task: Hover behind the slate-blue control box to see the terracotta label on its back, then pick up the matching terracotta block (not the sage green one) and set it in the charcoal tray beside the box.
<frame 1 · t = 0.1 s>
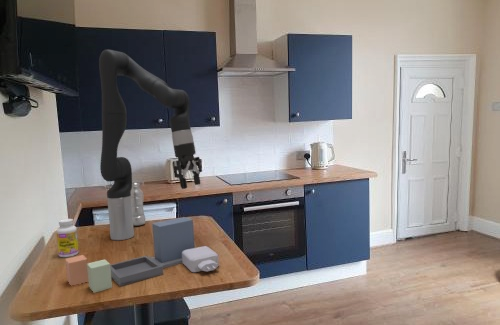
hand: (191, 186, 139), 22 cm above the table, tool pointing down, fingers open, 8 cm apart
tray: (134, 273, 116), on the table
charger: (203, 269, 118), on the table
terracotta block: (78, 281, 112), on the table
plastic bottle: (138, 225, 174), on the table
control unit: (175, 259, 127), on the table
sage block: (100, 287, 107), on the table
supplement bottle: (69, 255, 137), on the table
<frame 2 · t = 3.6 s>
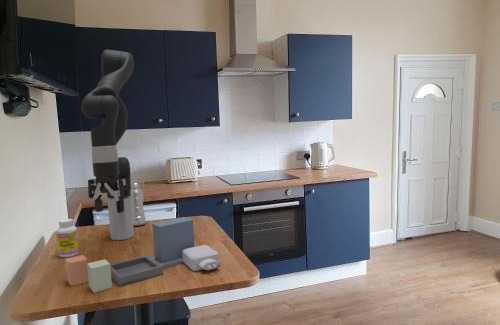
hand: (109, 211, 118), 19 cm above the table, tool pointing down, fingers open, 8 cm apart
charger: (204, 268, 119), on the table
everything else where it was.
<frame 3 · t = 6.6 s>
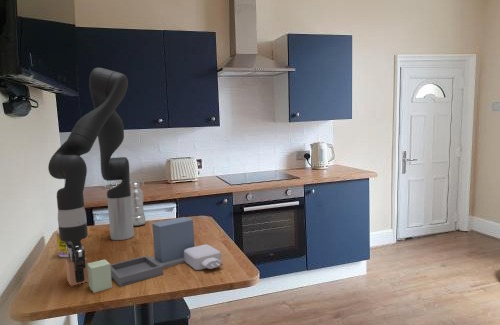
hand: (77, 278, 112), 1 cm above the table, tool pointing down, fingers closed on terracotta block, 5 cm apart
terracotta block: (78, 281, 112), on the table, touching gripper
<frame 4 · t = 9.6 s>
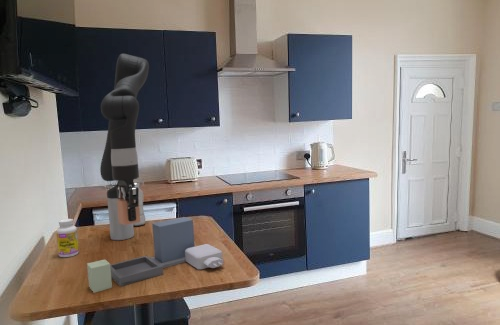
hand: (129, 218, 114), 17 cm above the table, tool pointing down, fingers closed on terracotta block, 5 cm apart
terracotta block: (129, 222, 114), point 16 cm above the table, touching gripper
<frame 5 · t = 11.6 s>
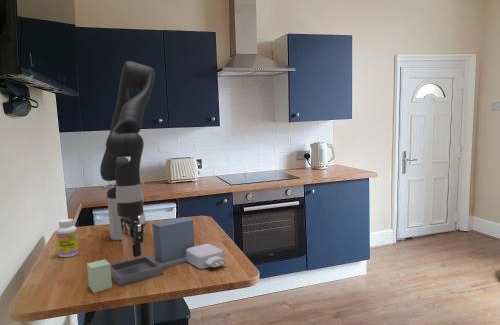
hand: (133, 253, 115), 6 cm above the table, tool pointing down, fingers closed on terracotta block, 5 cm apart
terracotta block: (134, 256, 115), point 5 cm above the table, touching gripper
when the fingers open (3 cm above the table, at t = 12.8 s): terracotta block drops 1 cm, resting on tray.
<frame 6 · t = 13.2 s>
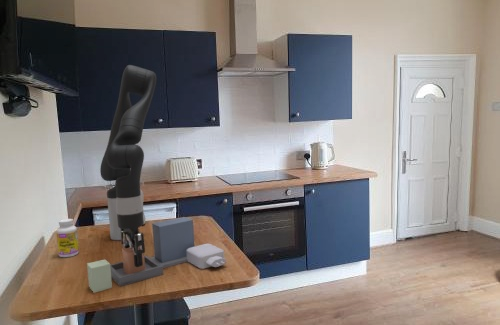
hand: (133, 262, 115), 4 cm above the table, tool pointing down, fingers open, 8 cm apart
terracotta block: (134, 271, 116), point 1 cm above the table, touching tray
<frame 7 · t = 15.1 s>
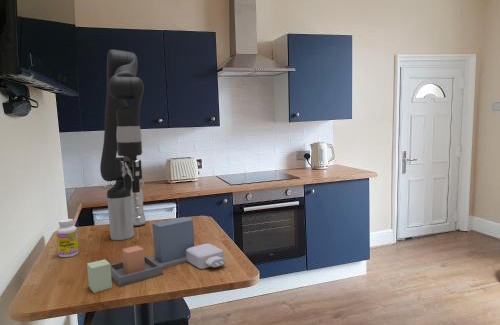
hand: (131, 190, 122), 25 cm above the table, tool pointing down, fingers open, 8 cm apart
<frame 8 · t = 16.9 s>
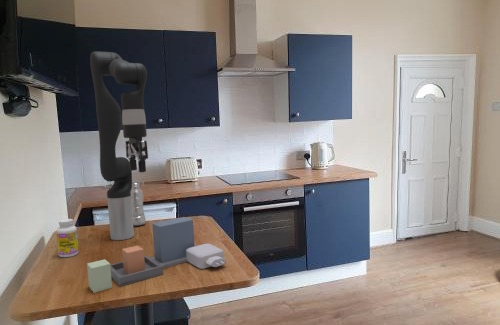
hand: (137, 171, 128), 30 cm above the table, tool pointing down, fingers open, 8 cm apart
at the end: terracotta block inside the target area on the tray (0.1 cm from its centre), point 0.8 cm above the tray's base; terracotta block tilted 0°; sage block moved 0.1 cm from its start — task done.
